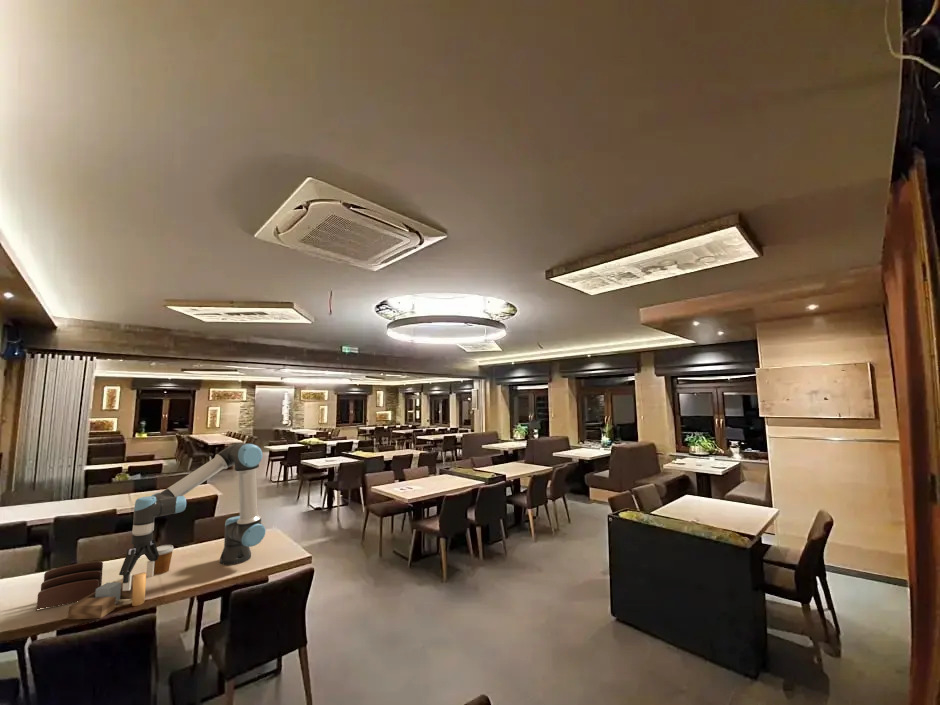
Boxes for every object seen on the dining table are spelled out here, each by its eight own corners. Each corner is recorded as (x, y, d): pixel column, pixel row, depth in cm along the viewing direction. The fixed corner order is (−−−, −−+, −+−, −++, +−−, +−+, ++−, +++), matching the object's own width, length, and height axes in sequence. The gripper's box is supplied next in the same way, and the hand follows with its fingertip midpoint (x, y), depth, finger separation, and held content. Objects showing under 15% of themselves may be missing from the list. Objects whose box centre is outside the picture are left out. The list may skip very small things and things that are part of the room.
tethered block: (148, 599, 182) (150, 571, 183) (138, 606, 176) (140, 577, 177) (106, 601, 181) (108, 573, 182) (94, 608, 175) (96, 579, 176)
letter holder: (42, 602, 182) (45, 569, 183) (101, 589, 193) (103, 558, 195) (35, 611, 174) (39, 577, 175) (98, 597, 185) (100, 565, 187)
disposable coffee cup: (160, 576, 206) (161, 551, 207) (144, 575, 207) (146, 550, 209) (177, 568, 215) (178, 545, 216) (162, 567, 217) (163, 544, 218)
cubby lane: (142, 591, 190) (142, 580, 190) (101, 618, 167) (102, 605, 168) (112, 592, 189) (113, 581, 190) (67, 619, 167) (68, 606, 167)
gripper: (154, 524, 194) (150, 571, 192) (111, 542, 169) (106, 596, 167) (170, 524, 195) (166, 570, 192) (129, 542, 170) (125, 596, 167)
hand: (138, 583), depth 180 cm, fingers open, 13 cm apart
